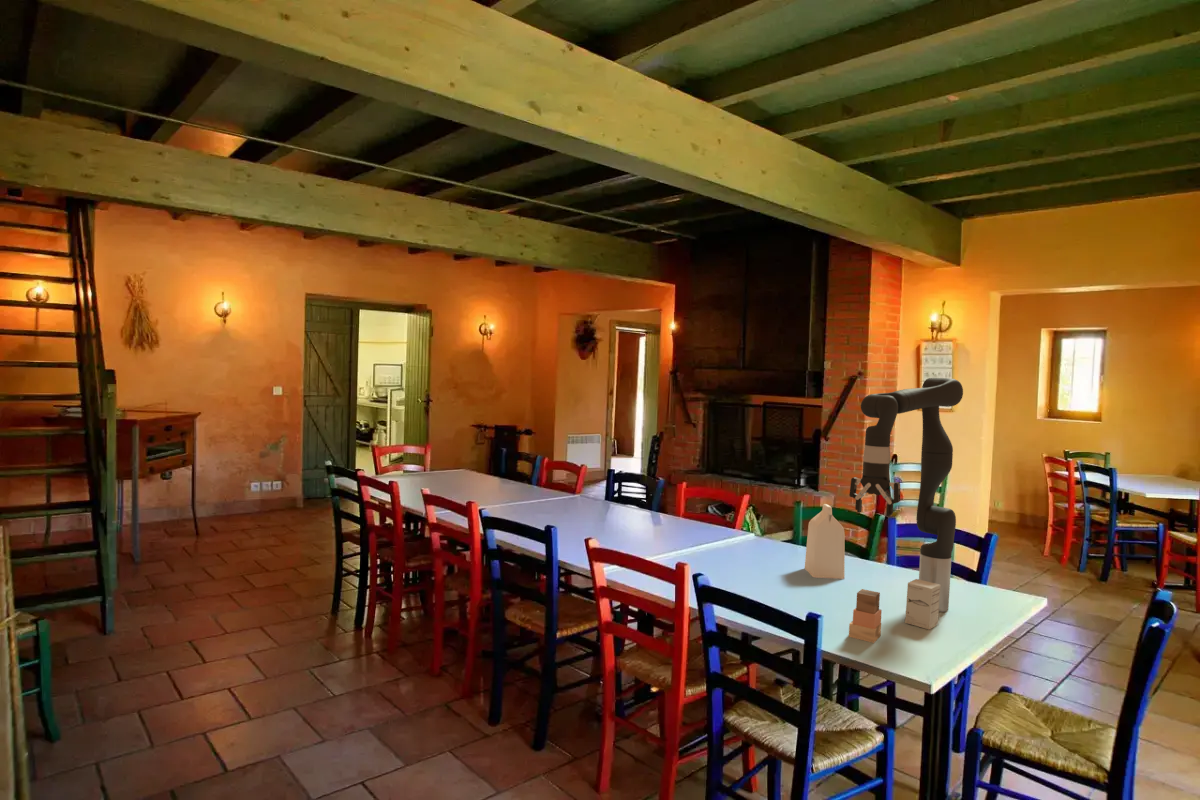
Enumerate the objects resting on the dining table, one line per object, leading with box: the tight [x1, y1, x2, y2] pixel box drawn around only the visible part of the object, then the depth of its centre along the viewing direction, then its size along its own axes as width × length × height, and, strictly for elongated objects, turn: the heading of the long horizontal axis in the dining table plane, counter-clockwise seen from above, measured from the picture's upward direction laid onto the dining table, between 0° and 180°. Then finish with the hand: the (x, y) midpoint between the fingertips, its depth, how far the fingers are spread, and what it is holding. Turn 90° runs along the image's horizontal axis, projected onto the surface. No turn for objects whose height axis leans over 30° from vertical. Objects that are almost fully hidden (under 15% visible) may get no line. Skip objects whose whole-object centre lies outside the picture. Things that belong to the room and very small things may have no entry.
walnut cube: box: [855, 588, 881, 614], centre depth 199 cm, size 5×5×5 cm
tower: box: [852, 607, 883, 629], centre depth 199 cm, size 6×6×4 cm
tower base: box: [848, 620, 882, 644], centre depth 200 cm, size 7×7×4 cm
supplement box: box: [904, 578, 941, 630], centre depth 212 cm, size 7×7×13 cm
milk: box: [804, 503, 846, 580], centre depth 264 cm, size 12×12×26 cm
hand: (873, 514), depth 211 cm, fingers open, 8 cm apart
